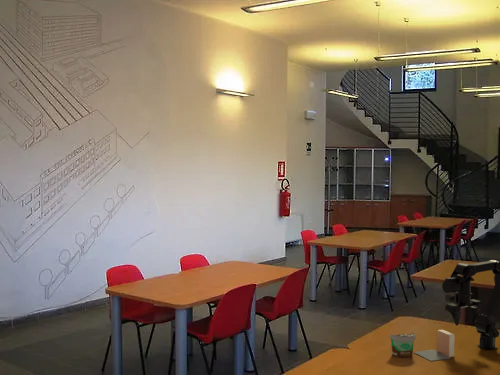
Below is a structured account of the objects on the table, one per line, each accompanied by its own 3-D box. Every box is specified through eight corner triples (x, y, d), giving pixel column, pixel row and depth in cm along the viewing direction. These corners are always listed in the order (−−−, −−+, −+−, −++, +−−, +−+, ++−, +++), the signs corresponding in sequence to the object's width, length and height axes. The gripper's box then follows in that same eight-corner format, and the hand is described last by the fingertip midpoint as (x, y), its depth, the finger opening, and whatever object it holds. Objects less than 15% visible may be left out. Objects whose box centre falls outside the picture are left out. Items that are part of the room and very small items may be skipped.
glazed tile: (441, 350, 254) (442, 329, 254) (453, 356, 247) (454, 334, 247) (436, 351, 253) (437, 330, 253) (448, 357, 246) (449, 335, 246)
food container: (396, 360, 241) (396, 337, 241) (389, 355, 247) (389, 333, 247) (420, 357, 245) (421, 335, 244) (413, 353, 250) (413, 331, 250)
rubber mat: (432, 350, 255) (432, 349, 255) (450, 358, 244) (450, 357, 244) (413, 352, 251) (413, 352, 251) (430, 361, 240) (430, 360, 240)
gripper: (464, 285, 264) (464, 316, 265) (436, 289, 256) (436, 322, 257) (483, 289, 254) (483, 322, 255) (454, 294, 246) (454, 328, 247)
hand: (463, 323), depth 254 cm, fingers open, 9 cm apart
